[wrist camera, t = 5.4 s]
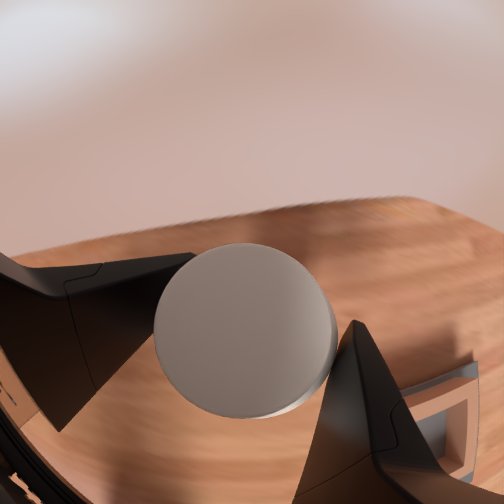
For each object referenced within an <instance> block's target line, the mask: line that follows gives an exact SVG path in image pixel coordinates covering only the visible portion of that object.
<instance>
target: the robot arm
mask: <svg viewBox="0 0 504 504" xmlns="http://www.w3.org/2000/svg"><path fill="white" fill-rule="evenodd" d="M196 256H198V255H196V254H194V253H191V252H189V253H180V254H171V255H163V256H154V257H146V258H138V259H129V260H121V261H113V262H105V263H96V264H87V265H77V266H61V267H43V268H30V267H26V266H22V265H20V264H18V263H16V262H15V261H13V260H11V259H10V258H8V257H7V256H5V255H3V254H2V253H0V504H36V503H35V502H34V501H33V500H31V499H29V498H28V496H27V493H26V492H25V491H24V489H22V488H21V487H20V486H18V485H17V484H16V483H14V482H13V481H12V480H11V479H10V478H11V477H12V475H13V474H14V473H15V472H16V473H17V477H18V478H19V479H20V480H21V481H23V482H24V483H25V484H26V485H27V486H28V487H29V488H28V490H29V491H30V492H31V493H33V494H34V495H36V496H37V497H38V498H39V499H40V500H41V503H42V504H93V503H92V502H91V501H90V500H88V499H87V498H86V497H85V496H84V495H82V494H81V493H80V492H79V491H78V490H77V489H75V488H74V487H73V486H72V485H71V484H70V483H69V482H68V481H67V480H66V479H65V478H63V477H62V476H61V475H60V474H59V473H58V472H57V471H56V470H55V469H54V468H53V467H52V466H51V465H50V464H49V462H48V461H47V460H46V459H45V458H44V457H43V456H42V455H41V454H40V453H39V452H38V450H37V449H36V448H35V447H34V446H33V445H32V443H31V442H30V441H29V440H28V439H27V437H26V436H25V435H24V434H23V432H22V431H21V430H20V428H21V427H22V426H23V425H24V424H25V423H26V422H28V421H29V420H30V419H31V418H32V417H33V416H34V415H35V414H37V413H38V412H39V411H40V412H41V414H42V415H43V416H44V417H45V418H46V419H47V420H48V422H49V423H50V424H51V425H52V426H53V427H54V428H55V429H56V430H57V431H58V432H60V431H61V430H62V429H63V428H64V427H65V426H66V425H67V424H68V423H69V422H70V421H71V420H72V418H73V417H74V416H75V415H76V414H77V413H78V412H79V411H80V410H81V409H82V408H83V407H84V406H85V404H86V403H87V402H88V401H89V400H90V399H91V398H92V397H93V396H94V395H95V394H96V392H97V391H98V390H99V389H100V388H101V387H102V386H103V385H104V384H105V383H106V382H107V381H108V380H109V379H110V378H111V377H112V376H113V375H114V373H115V372H116V371H117V370H118V369H119V368H120V367H121V366H122V365H123V364H124V363H125V362H126V361H127V360H128V359H129V358H130V357H131V356H132V355H133V354H134V352H135V351H136V350H137V349H138V348H139V347H140V346H141V345H142V344H143V343H144V342H145V341H146V340H147V339H148V338H149V337H150V336H151V335H152V334H153V333H154V320H155V314H156V310H157V306H158V303H159V300H160V298H161V296H162V294H163V292H164V289H165V288H166V286H167V285H168V283H169V281H170V280H171V279H172V277H173V276H174V275H175V274H176V273H177V271H178V270H179V269H180V268H182V267H183V266H184V265H185V264H186V263H187V262H189V261H190V260H191V259H193V258H194V257H196ZM402 397H403V396H402V394H401V392H400V390H399V388H398V386H397V384H396V382H395V380H394V378H393V376H392V374H391V372H390V370H389V368H388V366H387V364H386V362H385V360H384V359H383V357H382V355H381V353H380V351H379V349H378V347H377V346H376V344H375V342H374V340H373V338H372V336H371V335H370V333H369V331H368V329H367V327H366V326H365V324H364V323H362V322H360V321H357V320H352V321H351V322H350V324H349V326H348V328H347V330H346V331H345V333H344V335H343V337H342V338H341V341H340V343H339V346H338V349H337V353H336V356H335V359H334V362H333V365H332V368H331V371H330V374H329V377H328V380H327V384H326V388H325V392H324V397H323V401H322V405H321V409H320V413H319V417H318V421H317V425H316V429H315V433H314V436H313V440H312V444H311V447H310V450H309V454H308V457H307V460H306V464H305V467H304V470H303V473H302V476H301V479H300V482H299V485H298V488H297V491H296V494H295V496H294V497H295V498H294V499H293V501H292V504H504V495H500V494H497V493H494V492H491V491H488V490H485V489H482V488H479V487H477V486H474V485H471V484H469V483H466V482H463V481H461V480H458V479H456V478H454V477H452V476H450V475H449V474H448V473H446V472H445V471H444V470H443V468H442V467H441V466H440V464H439V462H438V461H437V459H436V457H435V455H434V454H433V452H432V450H431V448H430V446H429V445H428V443H427V441H426V439H425V438H424V436H423V434H422V432H421V431H420V429H419V427H418V425H417V423H416V422H415V420H414V418H413V416H412V414H411V412H410V410H409V408H408V406H407V404H406V402H405V400H404V398H402Z"/></svg>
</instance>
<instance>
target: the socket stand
mask: <svg viewBox="0 0 504 504" xmlns="http://www.w3.org/2000/svg"><path fill="white" fill-rule="evenodd" d="M400 392H401V394H402V396H403V397H402V398H404V400H405V402H406V404H407V406H408V408H409V410H410V412H411V414H412V416H413V418H414V420H415V422H416V423H417V425H418V427H419V429H420V431H421V432H422V434H423V436H424V438H425V439H426V441H427V443H428V445H429V446H430V448H431V450H432V452H433V454H434V455H435V457H436V459H437V461H438V462H439V464H440V466H441V467H442V468H443V470H444V471H445V472H446V473H448V474H449V475H450V476H452V477H454V478H456V479H458V480H461V481H463V482H466V483H470V482H472V479H473V473H474V467H475V460H476V452H477V443H478V429H479V376H478V362H477V361H471V362H469V363H467V364H465V365H463V366H460V367H458V368H456V369H454V370H451V371H449V372H447V373H444V374H442V375H439V376H437V377H434V378H432V379H429V380H427V381H424V382H421V383H418V384H416V385H413V386H410V387H407V388H404V389H401V390H400Z"/></svg>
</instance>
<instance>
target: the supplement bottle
mask: <svg viewBox="0 0 504 504" xmlns="http://www.w3.org/2000/svg"><path fill="white" fill-rule="evenodd" d="M154 342H155V349H156V353H157V356H158V359H159V362H160V365H161V367H162V369H163V371H164V373H165V375H166V376H167V378H168V379H169V381H170V382H171V384H172V385H173V386H174V388H175V389H176V390H177V391H178V392H179V393H180V394H181V395H182V396H183V397H185V398H186V399H187V400H188V401H189V402H191V403H193V404H194V405H196V406H197V407H199V408H201V409H203V410H205V411H207V412H210V413H212V414H215V415H219V416H223V417H229V418H239V419H245V418H250V419H257V418H268V417H273V416H277V415H280V414H283V413H286V412H288V411H290V410H292V409H294V408H296V407H298V406H299V405H301V404H302V403H304V402H305V401H306V400H308V399H309V398H310V397H311V396H312V395H313V394H314V393H315V392H316V391H317V390H318V389H319V387H320V386H321V385H322V384H323V382H324V381H325V379H326V377H327V376H328V374H329V372H330V370H331V367H332V365H333V362H334V359H335V355H336V351H337V345H338V330H337V323H336V318H335V314H334V311H333V308H332V306H331V304H330V302H329V300H328V298H327V296H326V295H325V293H324V292H323V290H322V289H321V287H320V286H319V284H318V283H317V281H316V279H315V278H314V277H313V276H312V274H311V273H310V272H309V271H308V270H307V269H306V268H305V267H304V266H303V265H302V264H301V263H299V262H298V261H297V260H295V259H294V258H292V257H291V256H289V255H287V254H286V253H284V252H282V251H279V250H277V249H275V248H272V247H268V246H265V245H259V244H254V243H233V244H227V245H223V246H218V247H215V248H212V249H210V250H207V251H205V252H203V253H201V254H199V255H198V256H196V257H194V258H193V259H191V260H190V261H189V262H187V263H186V264H185V265H184V266H183V267H182V268H180V269H179V270H178V271H177V273H176V274H175V275H174V276H173V277H172V279H171V280H170V281H169V283H168V285H167V286H166V288H165V289H164V292H163V294H162V296H161V298H160V300H159V303H158V306H157V310H156V314H155V320H154Z"/></svg>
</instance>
